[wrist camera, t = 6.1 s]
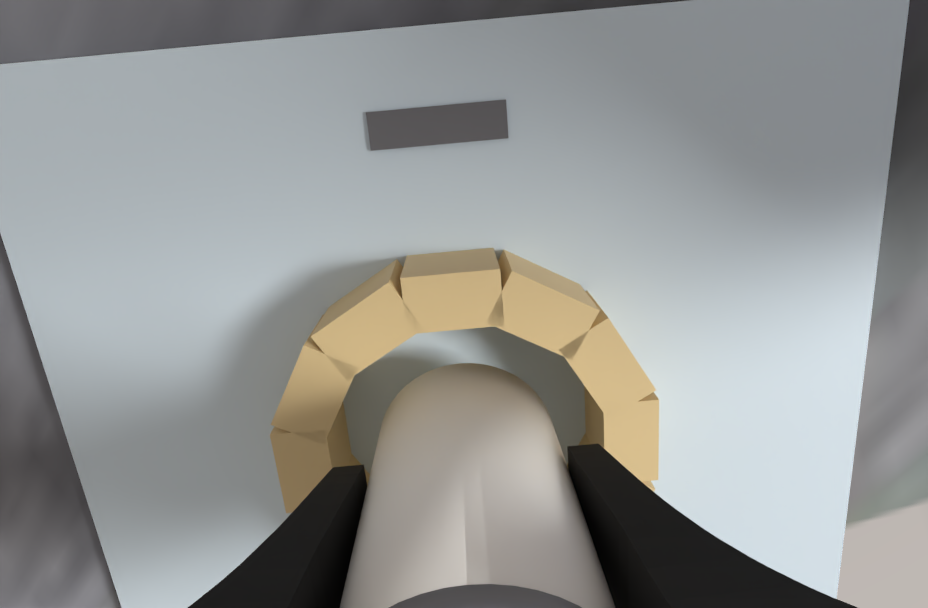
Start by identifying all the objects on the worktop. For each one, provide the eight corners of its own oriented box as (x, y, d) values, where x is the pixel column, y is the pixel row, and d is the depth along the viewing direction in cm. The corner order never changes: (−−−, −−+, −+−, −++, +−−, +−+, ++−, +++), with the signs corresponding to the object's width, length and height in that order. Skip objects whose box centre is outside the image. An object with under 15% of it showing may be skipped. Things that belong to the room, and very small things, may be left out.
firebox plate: (891, -15, 13) (995, -45, 11) (817, 639, 18) (874, 721, 16) (-32, 71, 13) (-144, 61, 11) (165, 697, 19) (121, 787, 16)
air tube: (552, 352, 13) (692, 668, 6) (559, 513, 14) (685, 957, 7) (365, 369, 13) (249, 707, 6) (388, 528, 14) (318, 987, 7)
